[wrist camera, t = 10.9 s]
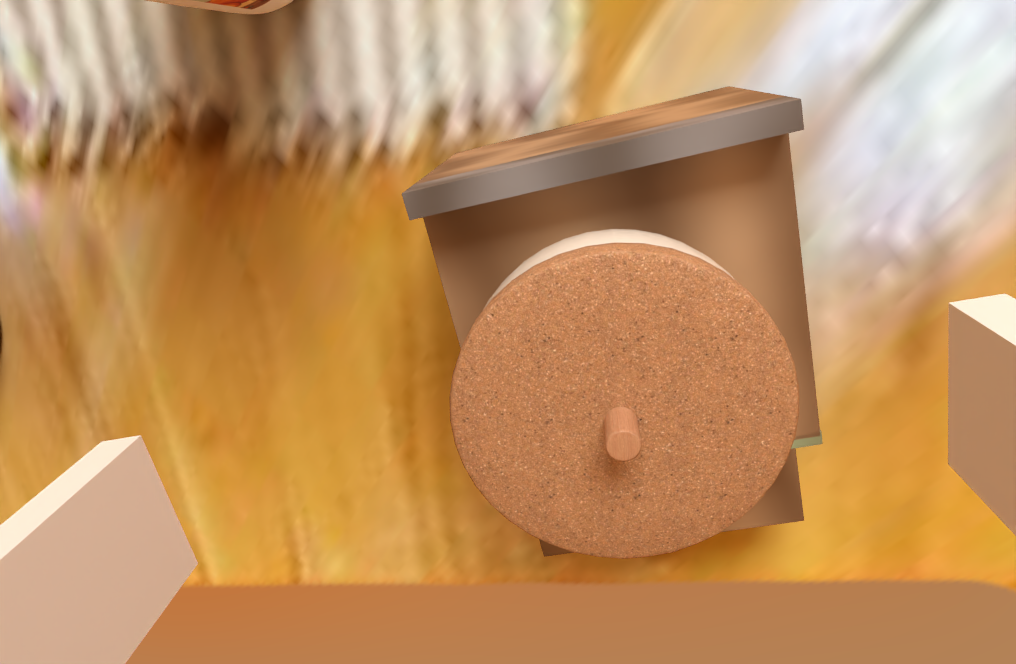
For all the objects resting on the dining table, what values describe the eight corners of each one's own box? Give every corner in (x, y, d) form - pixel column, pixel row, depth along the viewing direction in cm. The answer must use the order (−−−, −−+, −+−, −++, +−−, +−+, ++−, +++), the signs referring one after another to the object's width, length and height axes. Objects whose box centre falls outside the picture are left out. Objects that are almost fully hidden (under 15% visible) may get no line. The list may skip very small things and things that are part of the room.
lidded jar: (491, 446, 31) (457, 595, 23) (468, 207, 28) (417, 274, 19) (739, 442, 30) (804, 597, 21) (750, 191, 26) (836, 255, 18)
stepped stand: (547, 504, 44) (536, 654, 33) (454, 153, 37) (400, 194, 26) (779, 468, 42) (853, 618, 30) (729, 86, 34) (802, 98, 23)
